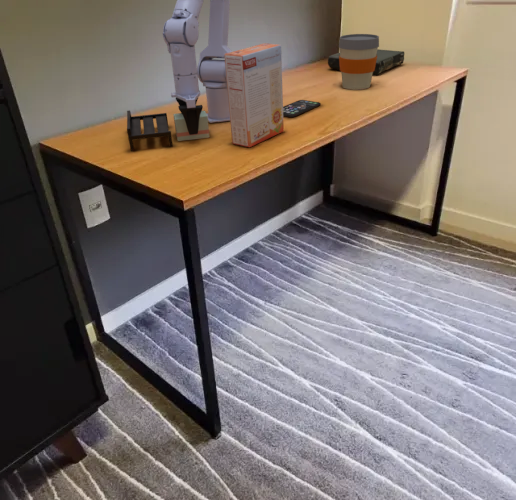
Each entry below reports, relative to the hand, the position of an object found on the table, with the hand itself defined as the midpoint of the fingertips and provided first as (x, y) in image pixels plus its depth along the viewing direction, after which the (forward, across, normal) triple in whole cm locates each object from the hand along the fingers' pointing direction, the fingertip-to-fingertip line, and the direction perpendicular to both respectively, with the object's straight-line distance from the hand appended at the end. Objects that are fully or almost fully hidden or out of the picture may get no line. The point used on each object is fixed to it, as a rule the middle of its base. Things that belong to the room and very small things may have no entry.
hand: (191, 129), depth 123 cm
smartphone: (+2, -13, +32) cm, 34 cm away
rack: (+2, -2, -10) cm, 11 cm away
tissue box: (+2, 0, 0) cm, 2 cm away
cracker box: (+2, +7, +16) cm, 17 cm away
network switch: (+2, -57, +72) cm, 92 cm away
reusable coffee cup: (+2, -32, +58) cm, 66 cm away
